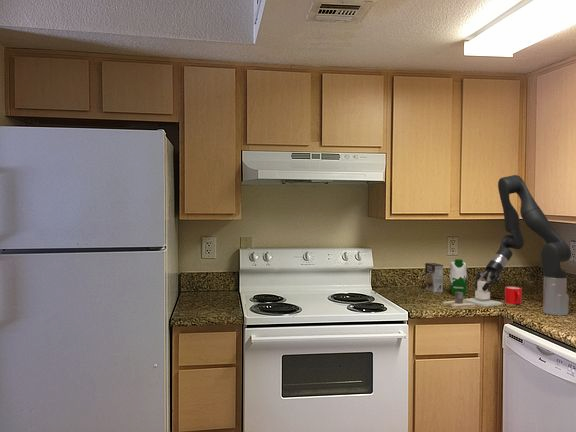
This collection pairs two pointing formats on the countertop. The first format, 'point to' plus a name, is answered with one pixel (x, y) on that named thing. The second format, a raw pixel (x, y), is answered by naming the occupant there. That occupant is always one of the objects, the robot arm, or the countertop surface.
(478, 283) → the white stepped block
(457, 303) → the post stand
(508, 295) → the mug
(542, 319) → the countertop surface
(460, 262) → the milk carton
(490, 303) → the tile
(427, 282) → the coffee box
